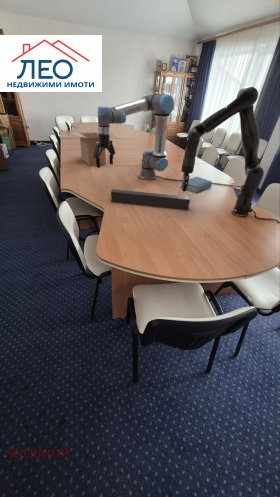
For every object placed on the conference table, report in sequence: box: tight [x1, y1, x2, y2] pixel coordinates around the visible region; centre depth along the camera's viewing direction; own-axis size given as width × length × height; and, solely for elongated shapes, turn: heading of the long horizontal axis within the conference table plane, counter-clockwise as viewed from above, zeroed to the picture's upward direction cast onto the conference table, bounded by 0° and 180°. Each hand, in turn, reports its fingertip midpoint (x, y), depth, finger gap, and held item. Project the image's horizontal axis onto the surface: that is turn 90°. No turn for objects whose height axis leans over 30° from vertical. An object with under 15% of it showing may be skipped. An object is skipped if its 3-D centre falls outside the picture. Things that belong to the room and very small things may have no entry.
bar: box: [110, 188, 191, 211], centre depth 157 cm, size 55×5×8 cm, turn 84°
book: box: [180, 176, 213, 194], centre depth 191 cm, size 23×16×5 cm
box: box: [70, 129, 114, 166], centre depth 229 cm, size 44×36×27 cm
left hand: (104, 165), depth 162 cm, fingers open, 13 cm apart
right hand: (183, 188), depth 150 cm, fingers open, 8 cm apart
